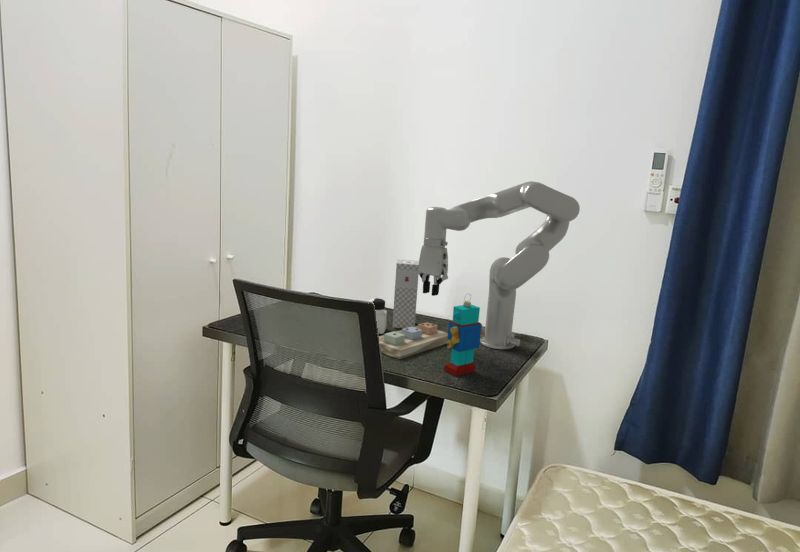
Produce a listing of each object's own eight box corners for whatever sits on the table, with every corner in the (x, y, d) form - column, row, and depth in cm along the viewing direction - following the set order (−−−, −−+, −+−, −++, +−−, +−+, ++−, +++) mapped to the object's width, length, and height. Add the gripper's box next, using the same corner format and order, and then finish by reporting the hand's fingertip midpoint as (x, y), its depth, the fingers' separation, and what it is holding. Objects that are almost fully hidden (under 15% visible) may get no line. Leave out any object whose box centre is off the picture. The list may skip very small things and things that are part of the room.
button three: (437, 333, 203) (437, 324, 203) (428, 336, 199) (429, 327, 199) (426, 329, 206) (426, 321, 206) (417, 332, 203) (418, 323, 202)
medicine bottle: (385, 328, 213) (387, 298, 211) (383, 334, 206) (385, 302, 204) (367, 326, 214) (369, 296, 212) (364, 332, 207) (366, 300, 205)
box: (393, 321, 224) (397, 259, 219) (414, 322, 223) (419, 261, 218) (392, 327, 215) (396, 263, 210) (414, 329, 215) (419, 265, 210)
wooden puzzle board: (450, 342, 203) (451, 334, 202) (399, 359, 182) (400, 350, 181) (420, 332, 212) (421, 324, 211) (368, 347, 191) (368, 339, 190)
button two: (421, 338, 196) (422, 329, 196) (412, 341, 193) (412, 332, 192) (410, 334, 200) (411, 325, 199) (401, 337, 196) (401, 328, 195)
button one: (404, 343, 190) (405, 334, 189) (394, 346, 186) (395, 337, 185) (393, 339, 193) (394, 330, 192) (383, 342, 189) (384, 333, 189)
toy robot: (467, 365, 181) (474, 289, 176) (480, 371, 176) (488, 293, 171) (439, 371, 174) (446, 292, 169) (452, 378, 169) (460, 297, 164)
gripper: (460, 245, 194) (455, 297, 198) (422, 238, 204) (419, 288, 208) (447, 247, 188) (442, 300, 192) (409, 240, 199) (405, 290, 202)
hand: (430, 293), depth 200 cm, fingers open, 3 cm apart
